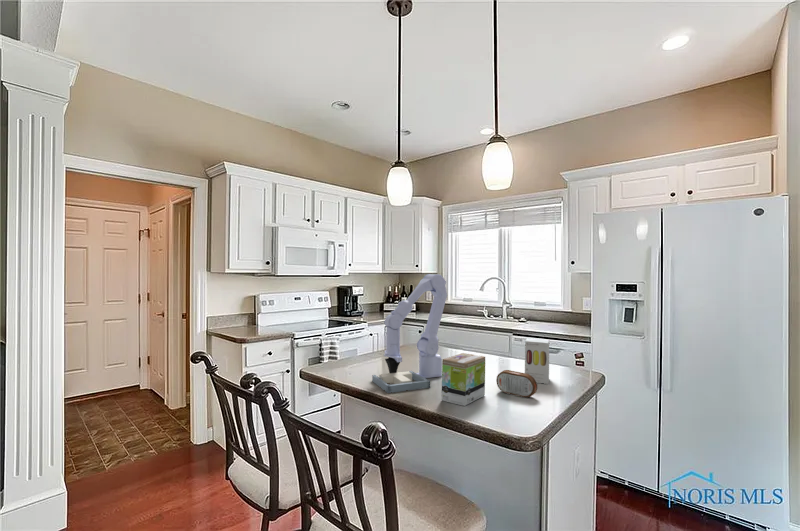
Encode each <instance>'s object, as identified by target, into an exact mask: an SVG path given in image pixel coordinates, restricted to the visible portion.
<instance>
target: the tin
mask: <svg viewBox="0 0 800 531" xmlns="http://www.w3.org/2000/svg"><path fill="white" fill-rule="evenodd" d="M496 385H497V387H498V389H499V390H500V391H501V392H502V393H504V394H508V395H512V396H517V397H521V398H530V397H532V396H534V395H535V394H536V393H537V391H538V383H536V381H535V379H534V378H533V377H532V376H531V375H529V374H526V373H525V372H521V371H520V372H519V371H514V370H511V369H504V370H502V371H501V372H500V373H498V374H497V376H496Z"/></svg>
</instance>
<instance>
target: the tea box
mask: <svg viewBox="0 0 800 531" xmlns="http://www.w3.org/2000/svg"><path fill="white" fill-rule="evenodd" d="M485 386H486V356H485V355H484V356H483V355H477V354H472V353H464V352H462V353H458V354H455V355H452V356H449V357H445V358H443V359H442V376H441V401H443V402H448V403H450V404H454V405H459V406H462V407H463V406H464V407H466V406H467V405H469V404H471V403H472V402H475V401H477V400H478V399H481V398H483V397H484V396H486V395H485V394H486V392H485V391H486V387H485Z"/></svg>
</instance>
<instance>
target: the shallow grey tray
mask: <svg viewBox="0 0 800 531" xmlns="http://www.w3.org/2000/svg"><path fill="white" fill-rule="evenodd" d="M408 372H410V373H412V382H409V383H401V384H394V383H391V384H387V383H386V382H384V381H383V380H382V379H380V378H379V376H377V375H376V374H372V376H371V377H372V378H371V380H372V383H373V384H375V385H377V386H378V387H379V388H380V387H381V388H380V389H382V390H383V391H384V390H385V391H384V392H386V393H387V394H390V393H391V392H392V393H399V392H406V390H408V391H413V390H414V391H416V390H421V389H430V388H431V380H430V379H428V378H424V377H422V376H420V375H418V374H416V373H417V372H415V371H412V370H409V371H408Z"/></svg>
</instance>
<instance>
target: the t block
mask: <svg viewBox="0 0 800 531" xmlns="http://www.w3.org/2000/svg"><path fill="white" fill-rule="evenodd" d="M378 377H379V378H380V379H382V380H383V381H384V382H386V383H390V384H401V383H409V382H413V379H412V373H410V372H409V371H408V370H407V371H400V372H399V371H397V373H381V374H380V373H379V375H378Z"/></svg>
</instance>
